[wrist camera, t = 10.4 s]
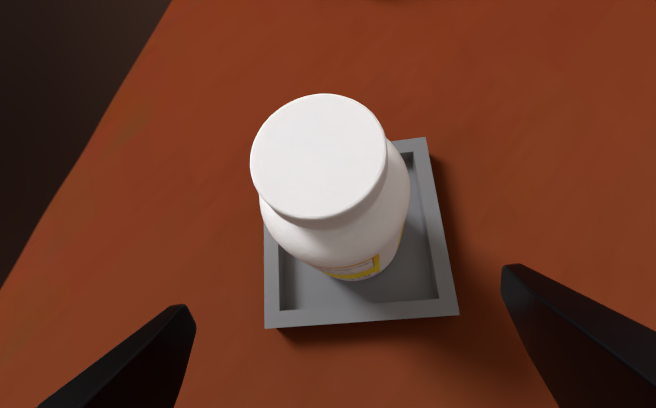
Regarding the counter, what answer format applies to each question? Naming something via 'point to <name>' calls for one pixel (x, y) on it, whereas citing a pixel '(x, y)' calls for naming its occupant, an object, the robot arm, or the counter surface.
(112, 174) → the counter surface
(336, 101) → the supplement bottle
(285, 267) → the tray
